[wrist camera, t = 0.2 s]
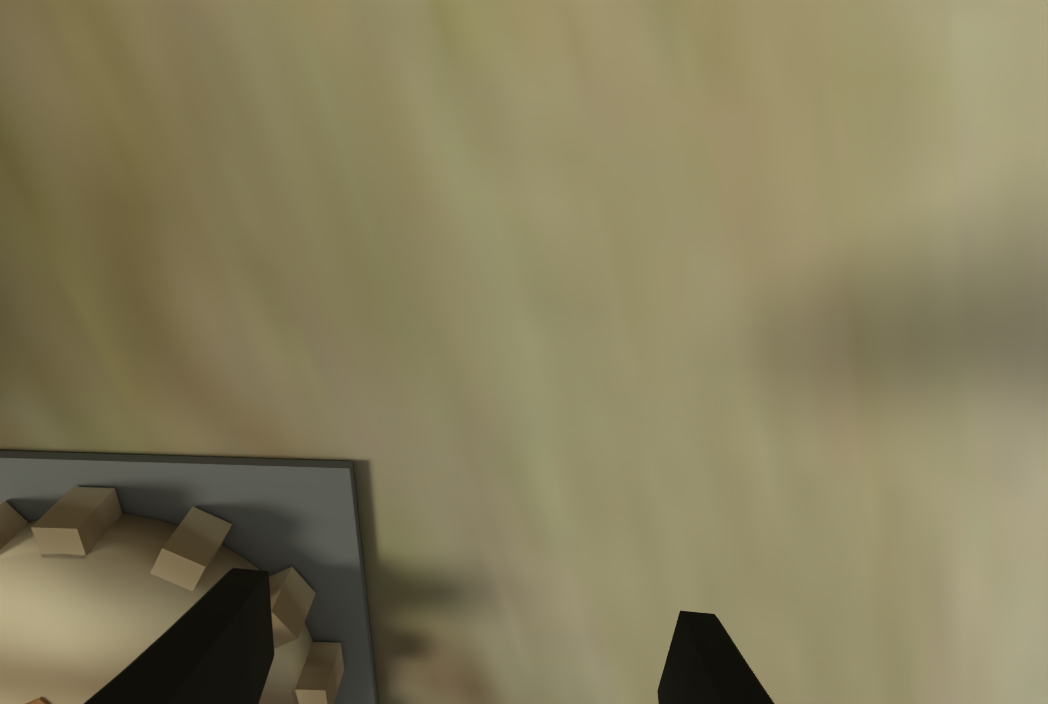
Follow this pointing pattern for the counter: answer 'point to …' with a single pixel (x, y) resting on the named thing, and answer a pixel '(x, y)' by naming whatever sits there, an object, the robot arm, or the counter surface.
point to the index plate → (237, 524)
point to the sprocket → (129, 600)
